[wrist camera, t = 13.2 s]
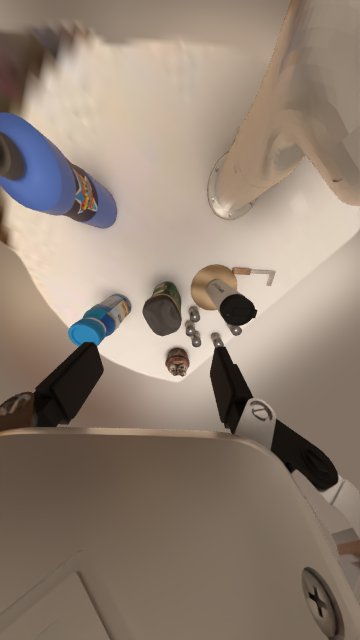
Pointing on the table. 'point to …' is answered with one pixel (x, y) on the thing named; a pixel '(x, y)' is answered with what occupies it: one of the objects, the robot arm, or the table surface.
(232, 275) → the round wooden board
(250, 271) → the hook tool
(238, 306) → the travel mug
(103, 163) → the table surface
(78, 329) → the beverage bottle
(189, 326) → the spacer field
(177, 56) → the table surface
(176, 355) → the cupcake
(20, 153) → the water bottle
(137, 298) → the table surface
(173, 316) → the coffee jar
